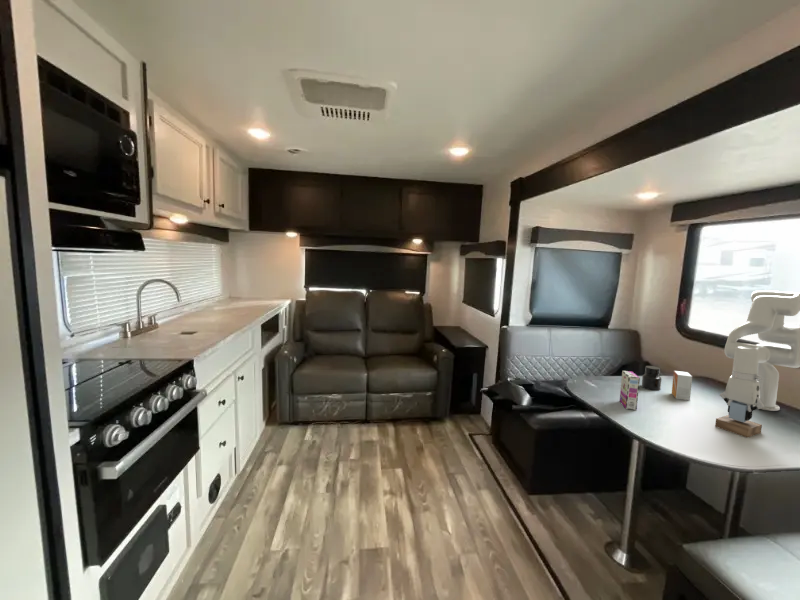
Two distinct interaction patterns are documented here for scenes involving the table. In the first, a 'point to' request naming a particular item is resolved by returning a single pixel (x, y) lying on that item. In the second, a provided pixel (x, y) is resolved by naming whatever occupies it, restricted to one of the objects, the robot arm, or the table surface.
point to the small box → (681, 385)
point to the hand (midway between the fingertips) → (739, 416)
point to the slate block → (738, 411)
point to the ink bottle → (651, 378)
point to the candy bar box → (629, 390)
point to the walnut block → (738, 426)
